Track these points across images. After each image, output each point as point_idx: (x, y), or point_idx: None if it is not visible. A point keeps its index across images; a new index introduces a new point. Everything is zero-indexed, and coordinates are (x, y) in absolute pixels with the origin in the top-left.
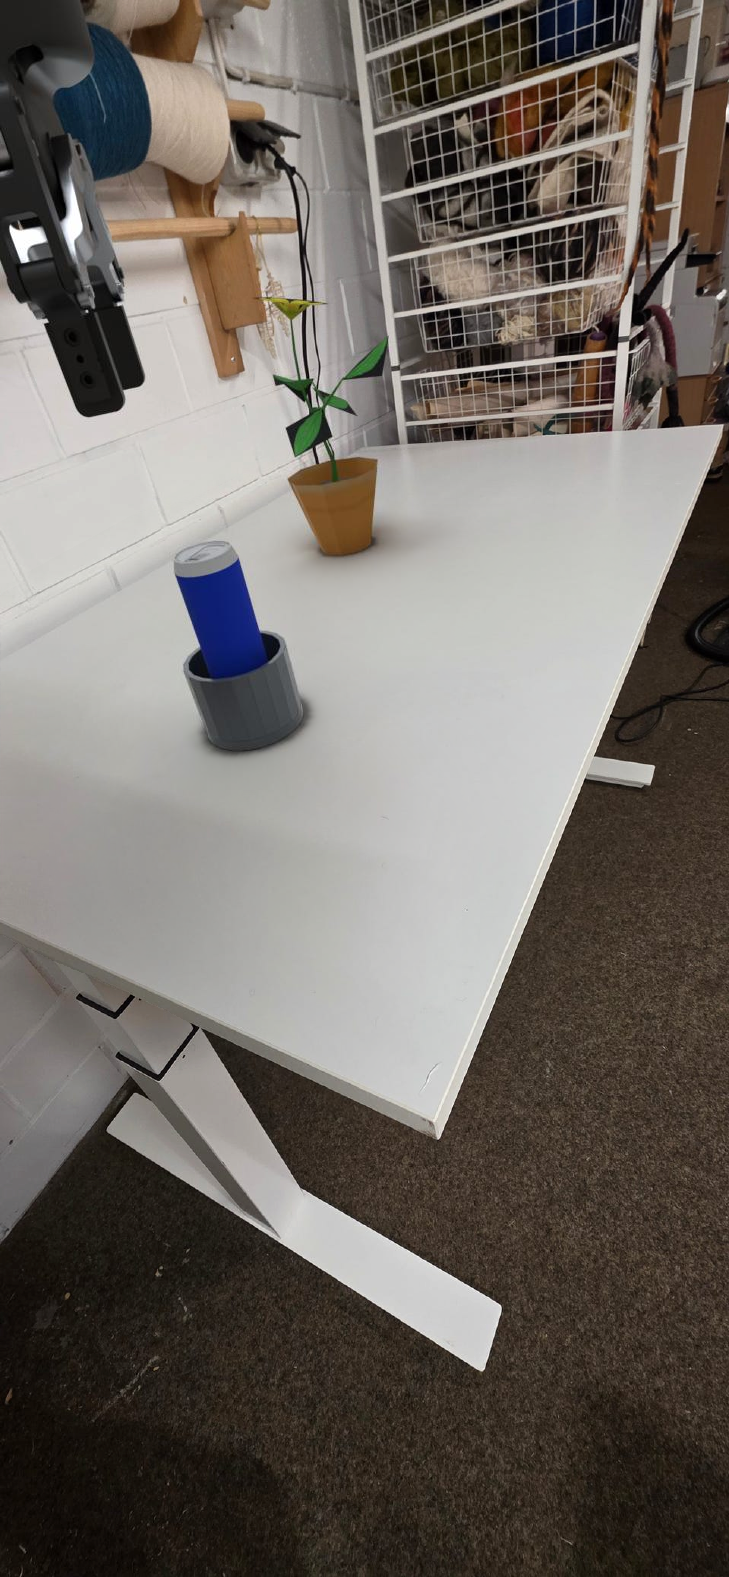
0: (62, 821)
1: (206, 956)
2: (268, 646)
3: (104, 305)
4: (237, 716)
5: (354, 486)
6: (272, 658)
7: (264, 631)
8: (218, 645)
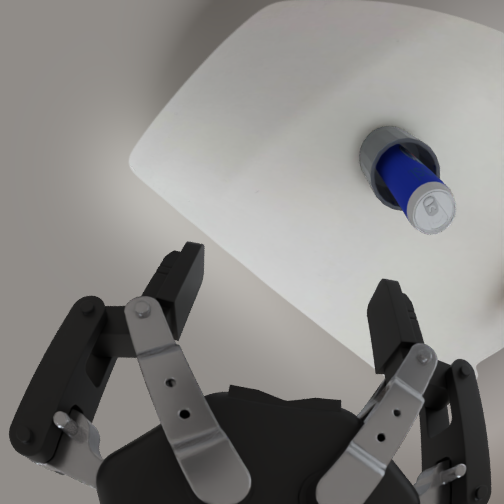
0: (351, 25)
1: (201, 95)
2: None
3: (389, 365)
4: (367, 151)
5: None
6: None
7: None
8: (394, 171)
